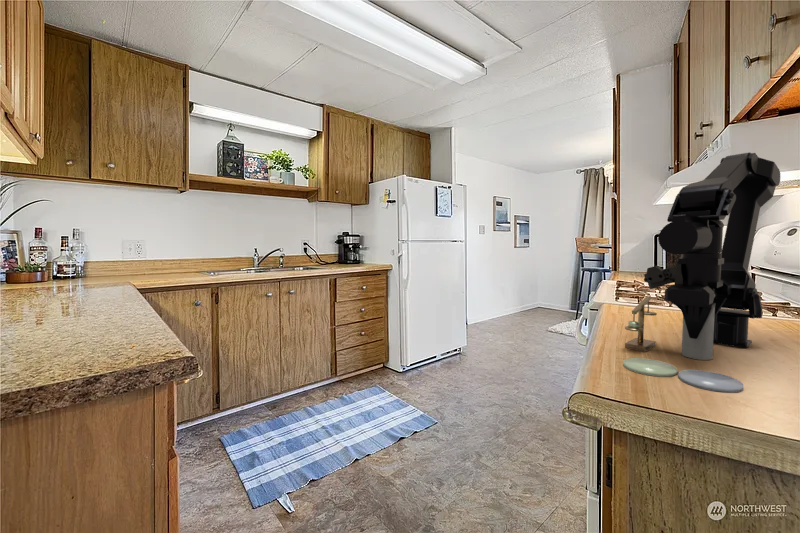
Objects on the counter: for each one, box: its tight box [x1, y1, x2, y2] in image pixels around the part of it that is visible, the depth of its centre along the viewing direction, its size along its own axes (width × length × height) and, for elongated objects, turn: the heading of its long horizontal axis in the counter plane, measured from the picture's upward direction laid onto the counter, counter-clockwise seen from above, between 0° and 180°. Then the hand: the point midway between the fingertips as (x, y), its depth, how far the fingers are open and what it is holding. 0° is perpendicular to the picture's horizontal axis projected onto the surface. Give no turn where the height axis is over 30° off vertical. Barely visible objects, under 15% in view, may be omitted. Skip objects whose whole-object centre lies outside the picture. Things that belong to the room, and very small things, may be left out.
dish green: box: [623, 357, 678, 378], centre depth 62 cm, size 8×8×1 cm
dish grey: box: [677, 369, 744, 394], centre depth 56 cm, size 8×8×1 cm
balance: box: [624, 295, 658, 353], centre depth 74 cm, size 11×4×10 cm, turn 128°
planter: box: [681, 307, 715, 361], centre depth 67 cm, size 4×4×10 cm
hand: (697, 335), depth 68 cm, fingers open, 6 cm apart
